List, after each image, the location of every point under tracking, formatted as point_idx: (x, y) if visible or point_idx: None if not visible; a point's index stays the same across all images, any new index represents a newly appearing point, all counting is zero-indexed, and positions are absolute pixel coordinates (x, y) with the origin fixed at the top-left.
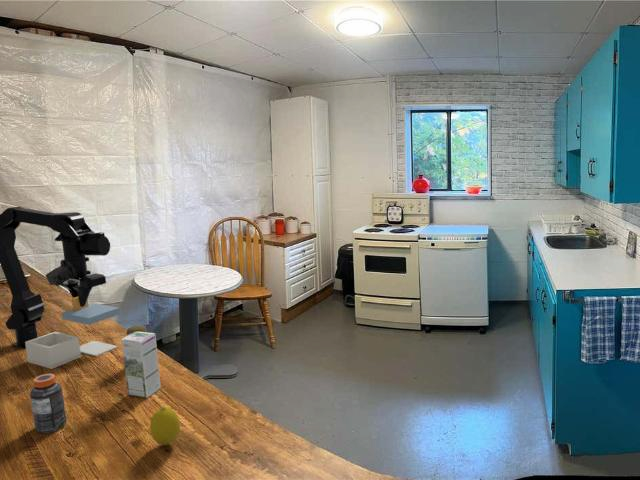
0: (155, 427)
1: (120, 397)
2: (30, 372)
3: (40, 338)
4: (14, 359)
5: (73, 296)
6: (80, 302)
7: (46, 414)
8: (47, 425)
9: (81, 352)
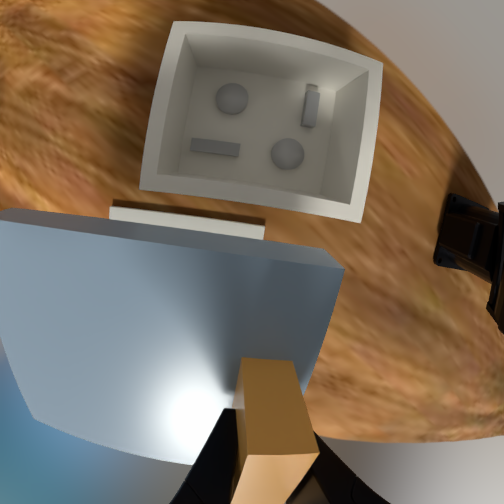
0: None
1: None
2: (246, 22)
3: (361, 123)
4: (407, 105)
5: (327, 477)
6: (220, 435)
7: None
8: None
9: (200, 217)
